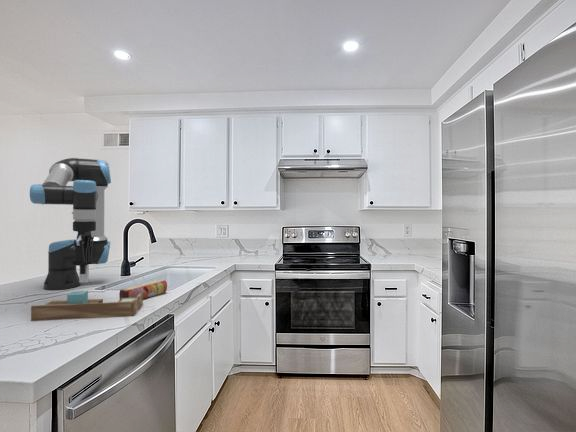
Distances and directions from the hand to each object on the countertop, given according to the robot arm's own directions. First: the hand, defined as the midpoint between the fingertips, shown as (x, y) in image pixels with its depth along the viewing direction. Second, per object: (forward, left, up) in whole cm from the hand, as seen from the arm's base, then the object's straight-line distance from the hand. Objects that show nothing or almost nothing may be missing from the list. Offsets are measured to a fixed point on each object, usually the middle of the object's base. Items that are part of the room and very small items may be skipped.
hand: (84, 281), depth 124 cm
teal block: (+5, 0, -8) cm, 9 cm away
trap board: (+2, +3, -11) cm, 12 cm away
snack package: (-17, +18, -12) cm, 27 cm away
